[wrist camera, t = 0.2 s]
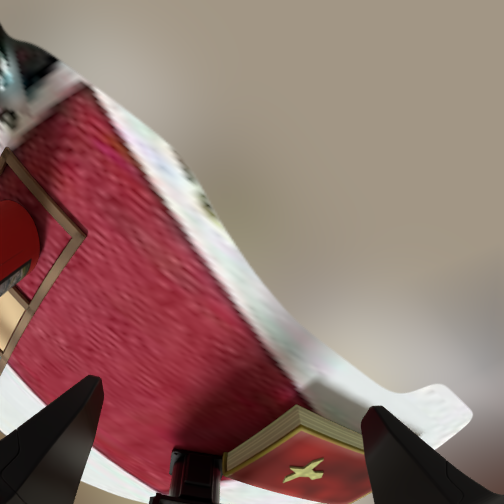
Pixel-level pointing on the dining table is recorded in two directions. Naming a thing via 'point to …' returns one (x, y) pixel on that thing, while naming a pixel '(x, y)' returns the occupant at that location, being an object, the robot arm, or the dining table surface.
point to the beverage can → (16, 244)
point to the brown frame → (14, 303)
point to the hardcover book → (303, 459)
